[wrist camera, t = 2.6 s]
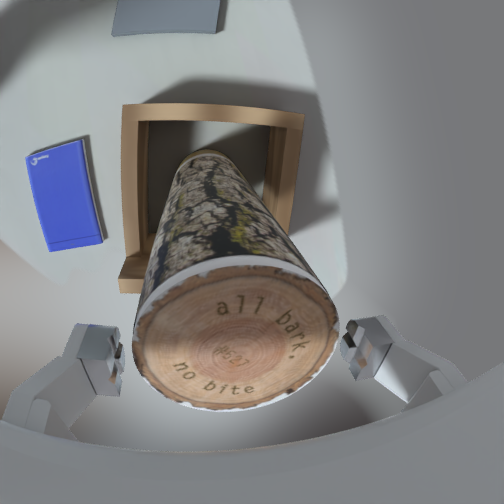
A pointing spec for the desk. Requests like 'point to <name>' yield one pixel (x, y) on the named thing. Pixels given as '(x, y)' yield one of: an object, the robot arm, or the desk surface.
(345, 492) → the robot arm
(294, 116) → the frame
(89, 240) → the hard drive
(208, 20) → the slate pad
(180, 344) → the wooden log
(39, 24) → the desk surface
